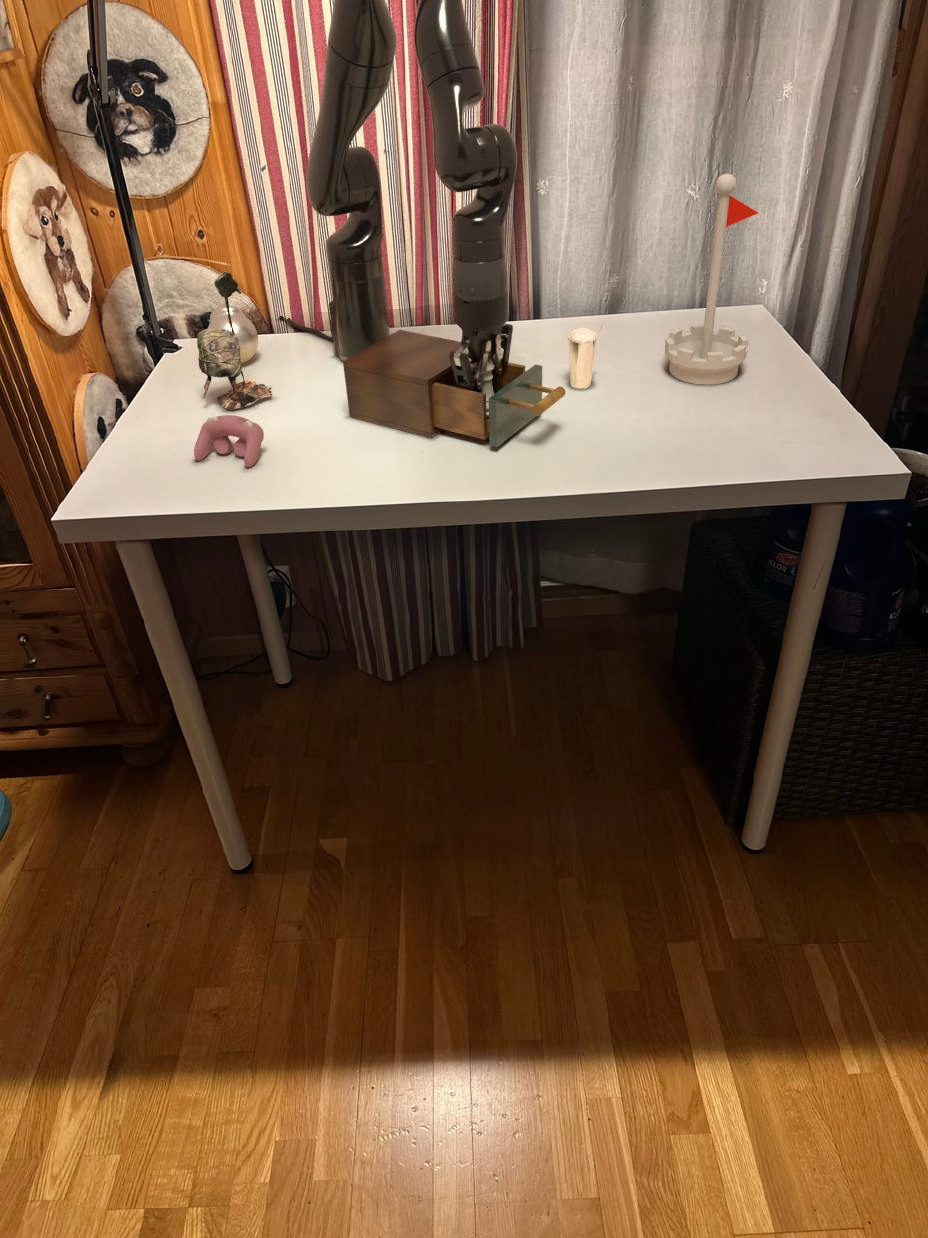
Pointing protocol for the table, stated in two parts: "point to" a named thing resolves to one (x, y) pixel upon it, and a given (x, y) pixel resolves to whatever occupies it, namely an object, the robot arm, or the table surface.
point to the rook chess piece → (487, 383)
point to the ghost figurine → (236, 329)
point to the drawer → (492, 404)
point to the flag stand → (711, 312)
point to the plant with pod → (227, 356)
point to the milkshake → (581, 356)
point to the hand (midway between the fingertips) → (484, 403)
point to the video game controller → (218, 434)
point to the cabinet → (398, 381)
